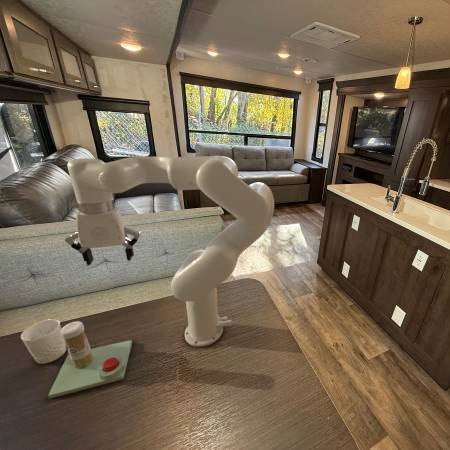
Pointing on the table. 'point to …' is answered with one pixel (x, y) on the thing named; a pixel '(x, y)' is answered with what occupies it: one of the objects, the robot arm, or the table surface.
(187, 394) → the table surface
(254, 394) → the table surface
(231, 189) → the robot arm
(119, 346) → the scale
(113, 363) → the button
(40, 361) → the white cup
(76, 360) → the sprinkles bottle
